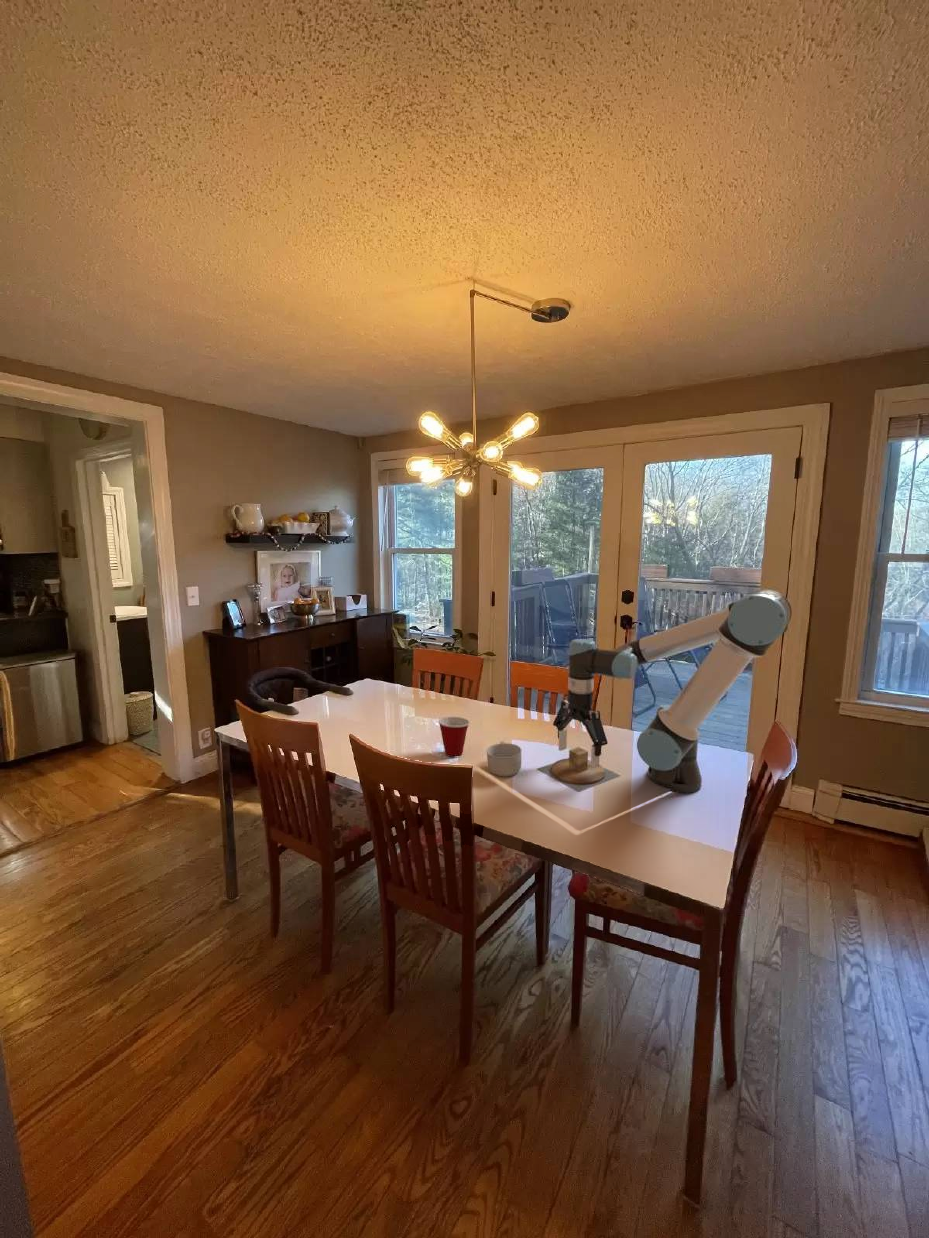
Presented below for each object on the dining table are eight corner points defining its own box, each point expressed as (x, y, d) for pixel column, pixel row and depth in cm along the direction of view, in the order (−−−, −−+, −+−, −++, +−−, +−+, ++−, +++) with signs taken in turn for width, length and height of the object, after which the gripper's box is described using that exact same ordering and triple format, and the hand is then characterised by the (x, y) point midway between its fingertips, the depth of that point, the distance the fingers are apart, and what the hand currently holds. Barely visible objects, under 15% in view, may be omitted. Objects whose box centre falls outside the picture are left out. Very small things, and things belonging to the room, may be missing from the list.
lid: (615, 775, 157) (616, 753, 156) (578, 789, 148) (579, 766, 147) (577, 756, 170) (577, 736, 169) (540, 769, 162) (541, 748, 160)
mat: (620, 778, 157) (620, 775, 157) (578, 795, 147) (578, 791, 147) (577, 758, 172) (577, 755, 172) (536, 771, 162) (536, 768, 162)
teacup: (519, 782, 155) (519, 757, 154) (483, 779, 157) (483, 754, 156) (523, 763, 168) (524, 739, 167) (490, 760, 170) (490, 737, 169)
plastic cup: (476, 753, 176) (476, 719, 174) (454, 763, 168) (454, 728, 166) (454, 744, 183) (453, 712, 181) (431, 754, 176) (431, 720, 174)
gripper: (543, 682, 163) (541, 746, 167) (604, 703, 143) (600, 775, 146) (560, 679, 168) (558, 741, 171) (622, 699, 147) (618, 769, 150)
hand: (578, 757), depth 159 cm, fingers open, 13 cm apart
